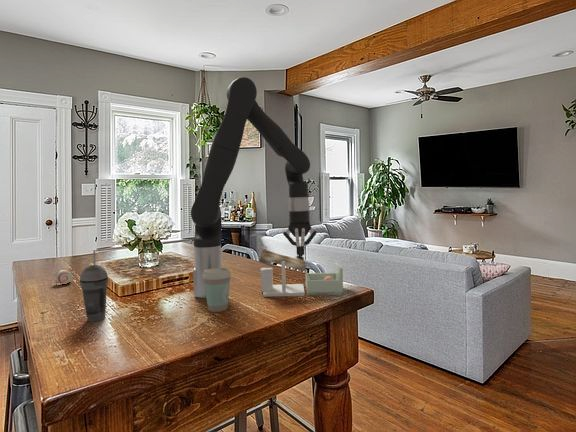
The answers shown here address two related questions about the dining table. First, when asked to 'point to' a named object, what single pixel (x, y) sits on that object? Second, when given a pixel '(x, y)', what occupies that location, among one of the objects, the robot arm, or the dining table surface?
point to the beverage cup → (94, 291)
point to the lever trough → (277, 258)
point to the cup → (325, 282)
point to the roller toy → (63, 276)
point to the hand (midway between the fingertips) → (300, 256)
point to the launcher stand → (278, 290)
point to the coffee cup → (217, 288)
